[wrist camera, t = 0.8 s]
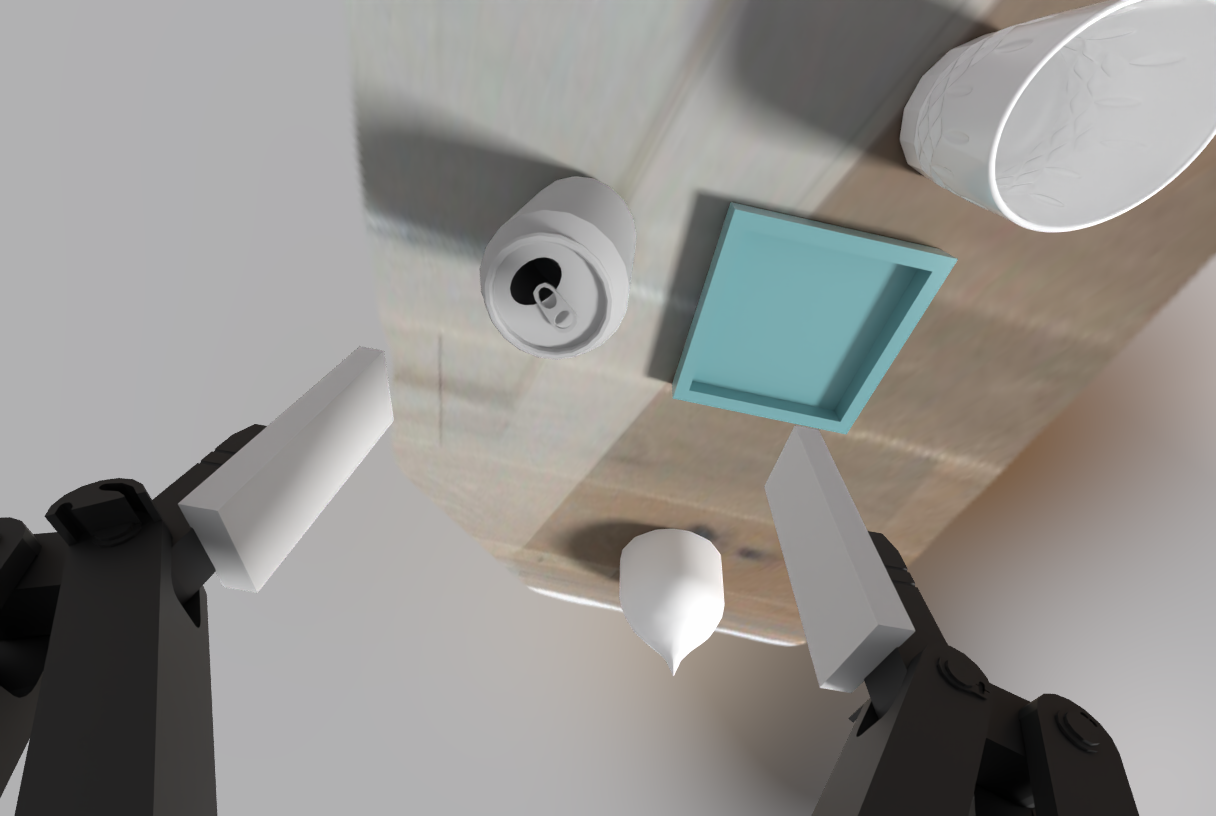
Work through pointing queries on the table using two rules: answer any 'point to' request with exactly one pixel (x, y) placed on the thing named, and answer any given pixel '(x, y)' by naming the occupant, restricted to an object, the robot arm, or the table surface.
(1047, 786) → the robot arm
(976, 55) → the white cup
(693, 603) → the teardrop
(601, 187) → the can
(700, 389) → the tray
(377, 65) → the table surface
